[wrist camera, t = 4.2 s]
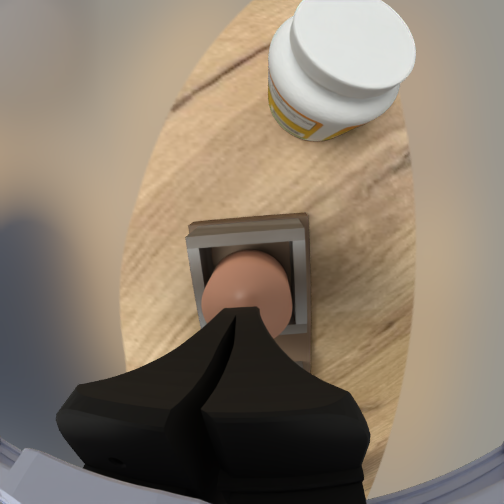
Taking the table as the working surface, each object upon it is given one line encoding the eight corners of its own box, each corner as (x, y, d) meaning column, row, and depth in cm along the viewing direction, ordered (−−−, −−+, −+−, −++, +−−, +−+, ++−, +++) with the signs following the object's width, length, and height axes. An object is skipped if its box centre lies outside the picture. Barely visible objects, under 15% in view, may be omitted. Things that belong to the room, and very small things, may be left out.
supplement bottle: (353, 68, 14) (422, -4, 5) (353, 146, 16) (440, 128, 7) (269, 59, 15) (270, -36, 5) (266, 138, 16) (265, 99, 7)
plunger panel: (307, 403, 22) (311, 438, 18) (226, 406, 22) (220, 441, 18) (305, 212, 17) (316, 224, 13) (193, 221, 18) (173, 236, 14)
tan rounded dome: (289, 318, 15) (293, 343, 13) (216, 322, 15) (208, 346, 13) (286, 246, 14) (290, 261, 12) (205, 252, 14) (194, 268, 12)
